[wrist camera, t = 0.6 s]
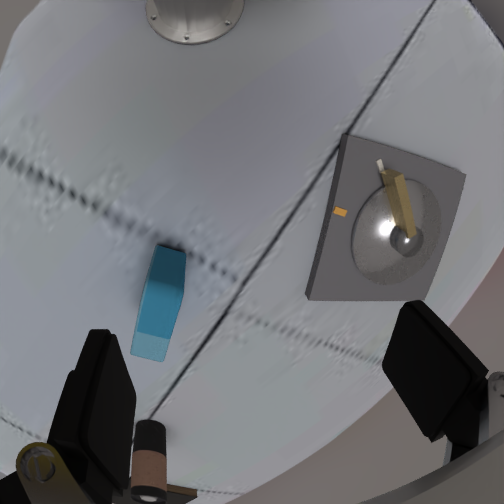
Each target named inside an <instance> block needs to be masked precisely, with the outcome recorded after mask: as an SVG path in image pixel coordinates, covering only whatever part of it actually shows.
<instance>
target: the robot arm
mask: <svg viewBox="0 0 504 504" xmlns="http://www.w3.org/2000/svg"><path fill="white" fill-rule="evenodd" d="M243 6H244V0H147V2H146V16H147V19H148V21H149V23H150V25H151V27H152V28H153V29H154V30H155V32H156V33H157V34H159V35H160V36H161V37H163V38H165V39H167V40H169V41H171V42H175V43H178V44H186V45H194V44H202V43H207V42H210V41H213V40H216V39H217V38H219V37H221V36H223V35H225V34H226V33H227V32H228V31H230V30H231V29H232V28H233V27H234V25H235V24H236V23H237V21H238V20H239V18H240V16H241V14H242V11H243ZM154 18H156V20H153V19H154ZM227 23H228V24H229V26H226V24H227ZM185 38H189V40H185ZM382 368H383V371H384V373H385V374H386V376H387V377H388V379H389V380H390V382H391V384H392V385H393V387H394V388H395V390H396V391H397V393H398V394H399V396H400V398H401V399H402V401H403V402H404V404H405V405H406V407H407V408H408V410H409V412H410V413H411V415H412V417H413V418H414V420H415V422H416V423H417V425H418V426H419V428H420V430H421V431H422V433H423V434H424V436H426V437H428V438H429V439H430V441H431V442H434V441H436V440H438V439H440V438H442V437H443V436H444V435H446V436H447V444H446V451H445V456H444V462H443V467H441V468H439V469H437V470H435V471H433V472H431V473H429V474H427V475H425V476H423V477H421V478H419V479H417V480H415V481H413V482H411V483H409V484H406V485H404V486H402V487H399V488H397V489H395V490H392V491H390V492H387V493H385V494H382V495H380V496H377V497H375V498H372V499H369V500H366V501H364V502H361V503H358V504H504V372H494V373H492V374H491V375H490V376H489V378H488V380H487V379H486V378H485V376H486V375H487V373H488V371H489V370H488V369H487V368H486V367H485V366H484V365H483V364H482V362H481V361H480V360H479V359H478V358H477V357H476V356H475V355H474V354H473V353H472V352H471V350H470V349H469V348H468V347H467V346H466V345H465V344H464V343H463V342H462V341H461V340H460V339H459V338H458V336H456V335H455V333H454V332H453V331H452V330H451V329H450V328H449V327H448V326H447V325H446V324H445V323H444V322H443V321H442V320H441V319H440V318H439V317H438V316H437V315H436V314H435V313H434V312H433V311H432V310H431V309H430V308H429V307H428V306H427V305H426V304H425V303H424V302H423V301H421V300H414V301H409V302H406V303H405V304H404V305H403V307H402V308H401V309H400V311H399V315H398V318H397V321H396V324H395V327H394V330H393V333H392V336H391V339H390V342H389V345H388V348H387V351H386V353H385V356H384V359H383V362H382ZM135 408H136V392H135V389H134V386H133V384H132V381H131V378H130V376H129V373H128V370H127V367H126V364H125V361H124V358H123V355H122V352H121V349H120V346H119V343H118V340H117V337H116V335H115V334H111V333H110V331H109V330H108V329H91V330H90V331H89V333H88V336H87V338H86V341H85V344H84V346H83V349H82V351H81V354H80V357H79V359H78V362H77V365H76V368H75V370H72V371H71V372H70V373H69V374H68V376H67V379H66V382H65V385H64V388H63V391H62V394H61V397H60V400H59V403H58V406H57V409H56V412H55V415H54V419H53V422H52V425H51V429H50V432H49V436H48V440H47V443H43V442H34V443H31V444H28V445H27V446H25V447H24V448H22V450H21V451H20V452H19V454H18V456H17V459H16V470H17V471H15V472H13V473H11V474H10V475H8V476H6V477H5V478H3V479H1V480H0V504H112V496H118V497H123V489H125V490H126V489H128V486H129V472H130V458H131V446H132V435H133V425H134V416H135Z"/></svg>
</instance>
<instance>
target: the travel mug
mask: <svg viewBox="0 0 504 504" xmlns="http://www.w3.org/2000/svg"><path fill="white" fill-rule="evenodd" d="M130 498H131V499H132V500H133V501H135V502H137V503H140V504H166V503H167V459H166V429H165V427H164V425H163V424H161V423H159V422H157V421H153V420H141V421H139V422H138V423H137V424H136V429H135V437H134V445H133V454H132V470H131V496H130Z"/></svg>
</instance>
